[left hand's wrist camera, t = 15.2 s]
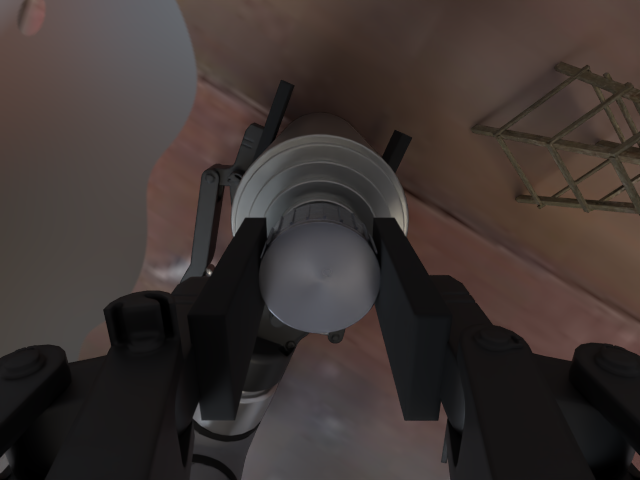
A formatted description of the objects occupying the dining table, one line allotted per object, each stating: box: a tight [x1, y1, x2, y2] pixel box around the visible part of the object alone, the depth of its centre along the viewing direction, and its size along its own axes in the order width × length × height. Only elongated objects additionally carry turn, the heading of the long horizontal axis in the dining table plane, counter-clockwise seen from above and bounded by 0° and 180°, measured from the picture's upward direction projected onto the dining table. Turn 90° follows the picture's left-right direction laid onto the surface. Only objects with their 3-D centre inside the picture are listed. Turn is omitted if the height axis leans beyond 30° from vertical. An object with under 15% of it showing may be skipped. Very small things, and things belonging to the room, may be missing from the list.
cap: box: [259, 202, 381, 333], centre depth 13 cm, size 4×4×2 cm
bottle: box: [231, 113, 409, 239], centre depth 23 cm, size 8×8×23 cm
